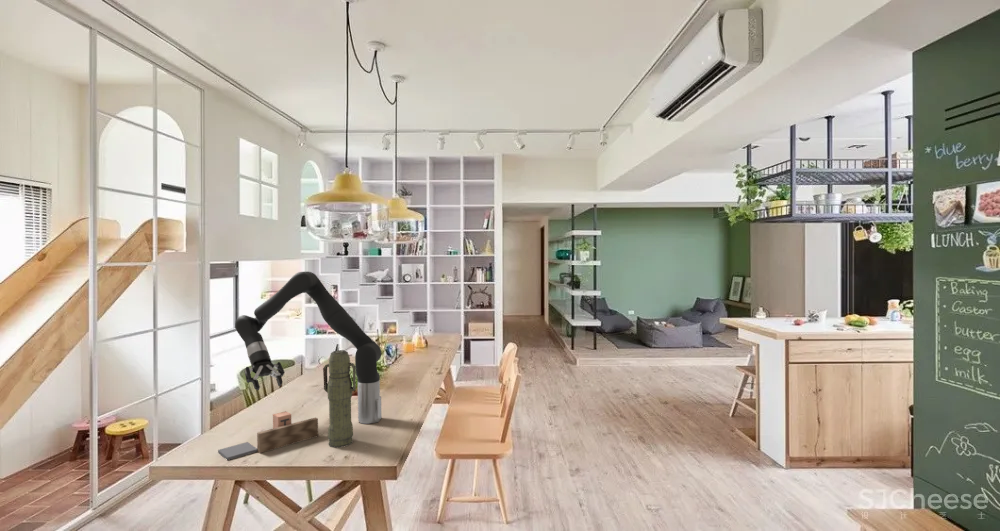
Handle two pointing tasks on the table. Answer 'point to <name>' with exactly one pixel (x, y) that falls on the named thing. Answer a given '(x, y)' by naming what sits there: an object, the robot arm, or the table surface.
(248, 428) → the table surface
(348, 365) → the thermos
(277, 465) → the table surface
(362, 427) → the table surface
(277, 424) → the marked block
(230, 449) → the charcoal mat
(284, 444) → the walnut screen
